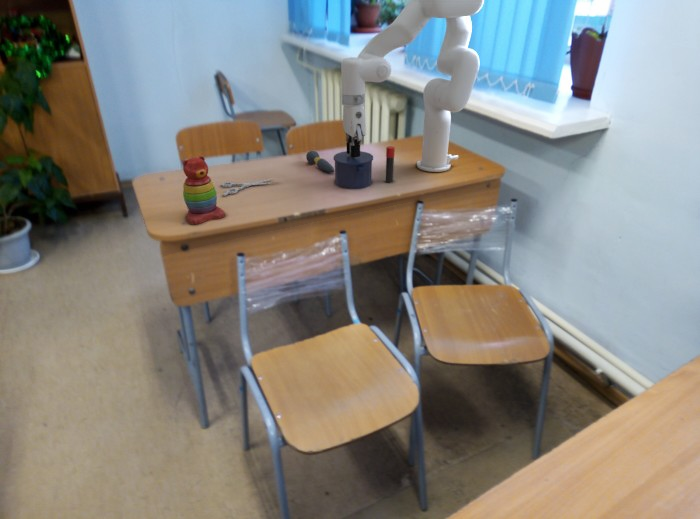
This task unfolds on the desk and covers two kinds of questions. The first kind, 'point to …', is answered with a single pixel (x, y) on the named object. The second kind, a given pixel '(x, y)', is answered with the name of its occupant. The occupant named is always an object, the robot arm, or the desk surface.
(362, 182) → the pot
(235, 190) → the scissors
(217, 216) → the stacking bear
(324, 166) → the grey microphone
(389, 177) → the marker
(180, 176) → the desk surface
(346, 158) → the lid
